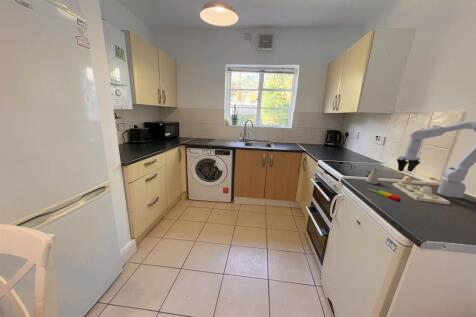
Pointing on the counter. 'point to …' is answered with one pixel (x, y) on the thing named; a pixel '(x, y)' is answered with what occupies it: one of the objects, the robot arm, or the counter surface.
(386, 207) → the counter surface
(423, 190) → the egg
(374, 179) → the flask
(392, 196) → the popsicle
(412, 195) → the egg box
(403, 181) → the egg
